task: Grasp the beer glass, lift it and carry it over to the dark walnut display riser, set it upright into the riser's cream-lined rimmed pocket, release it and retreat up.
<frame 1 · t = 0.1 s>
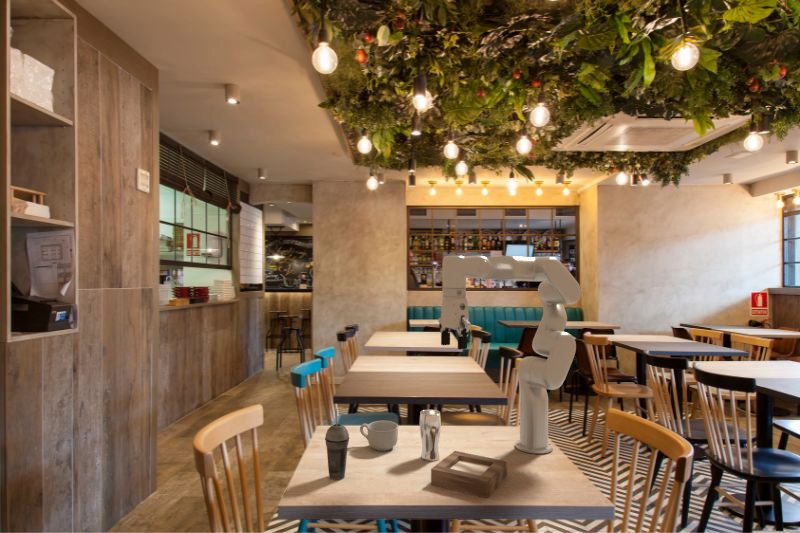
hand: (453, 346, 160), 37 cm above the table, tool pointing down, fingers open, 9 cm apart
beer glass: (430, 458, 164), on the table
display riser: (469, 480, 146), on the table
beverage cup: (336, 477, 148), on the table
teacup: (378, 447, 174), on the table
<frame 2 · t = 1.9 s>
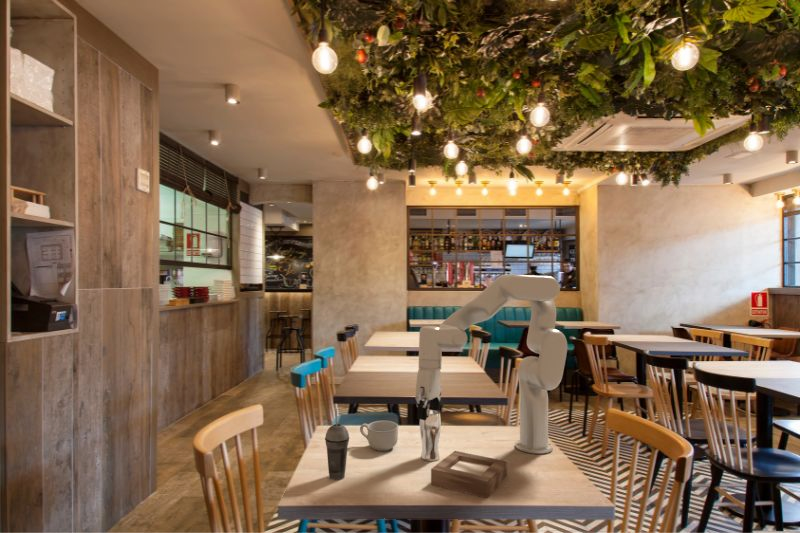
hand: (428, 415, 164), 14 cm above the table, tool pointing down, fingers open, 9 cm apart
nothing on the table moved.
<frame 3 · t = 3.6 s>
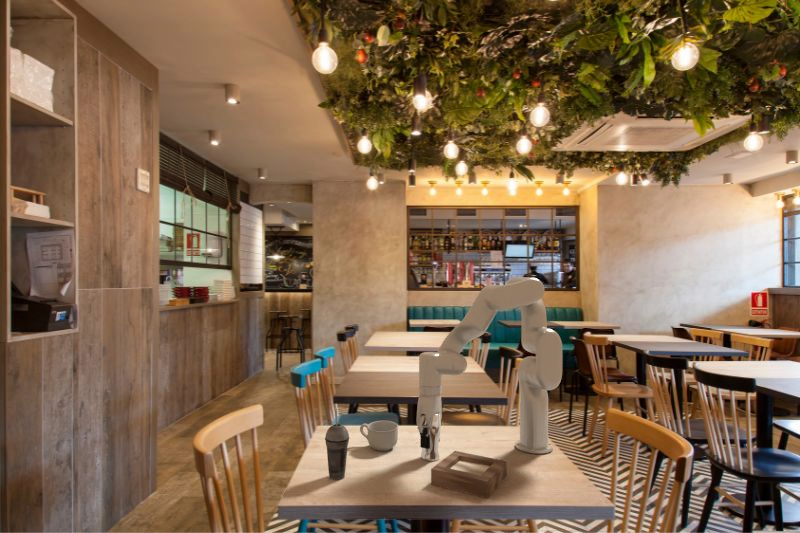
hand: (430, 444, 164), 4 cm above the table, tool pointing down, fingers closed on beer glass, 6 cm apart
beer glass: (430, 458, 164), on the table, touching gripper
everything else where it was.
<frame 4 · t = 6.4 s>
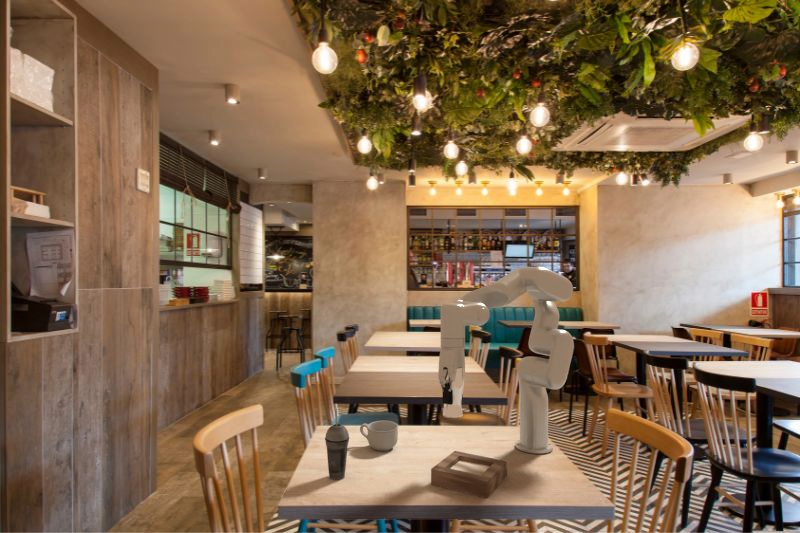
hand: (452, 400, 154), 21 cm above the table, tool pointing down, fingers closed on beer glass, 6 cm apart
beer glass: (452, 415, 154), point 17 cm above the table, touching gripper
everything else where it was.
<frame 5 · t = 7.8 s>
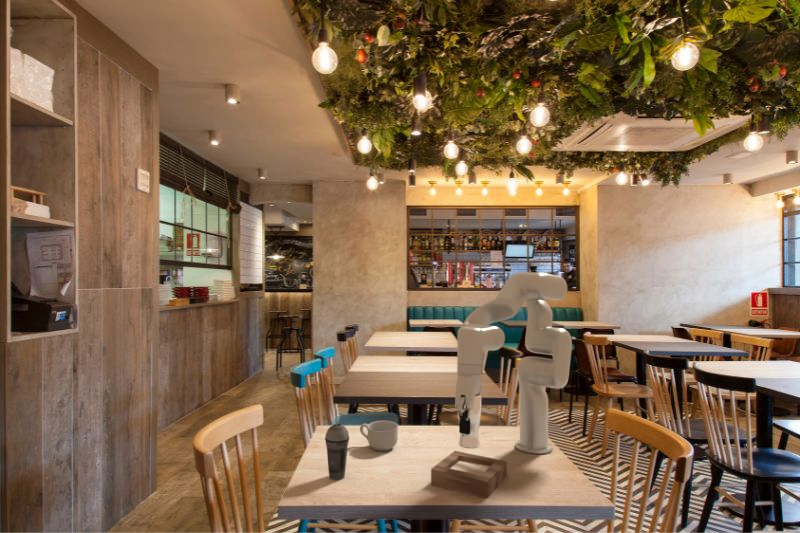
hand: (469, 429, 146), 15 cm above the table, tool pointing down, fingers closed on beer glass, 6 cm apart
beer glass: (469, 445, 146), point 10 cm above the table, touching gripper
everything else where it was.
when the fingers open (9 cm above the table, at t = 9.1 s): beer glass drops 1 cm, resting on display riser.
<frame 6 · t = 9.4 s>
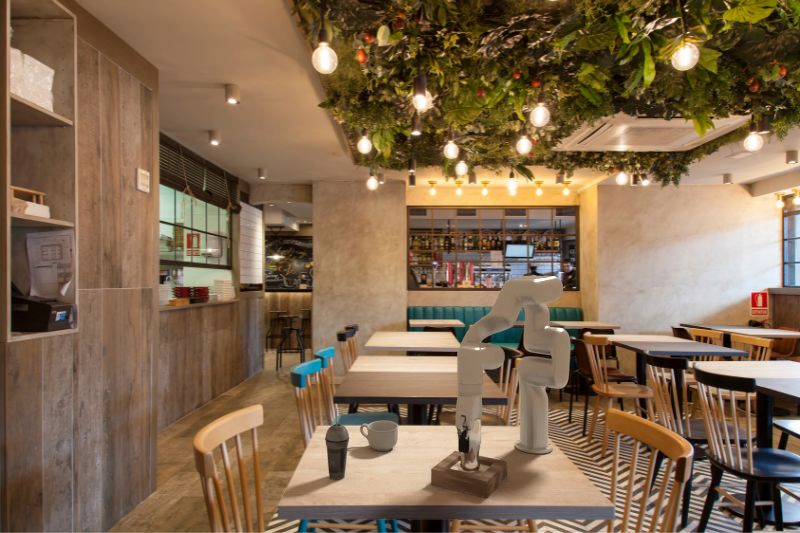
hand: (469, 447, 146), 10 cm above the table, tool pointing down, fingers open, 8 cm apart
beer glass: (470, 469, 146), point 3 cm above the table, touching display riser
everything else where it was.
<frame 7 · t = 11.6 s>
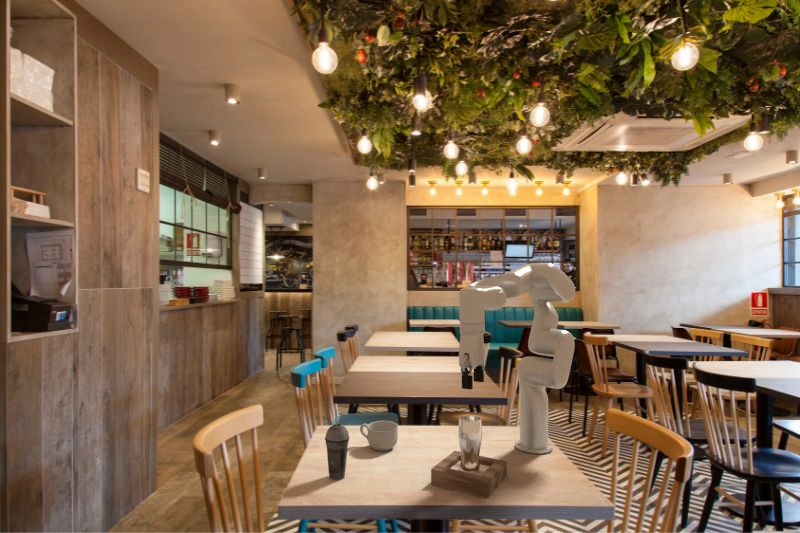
hand: (473, 385, 150), 27 cm above the table, tool pointing down, fingers open, 9 cm apart
nothing on the table moved.
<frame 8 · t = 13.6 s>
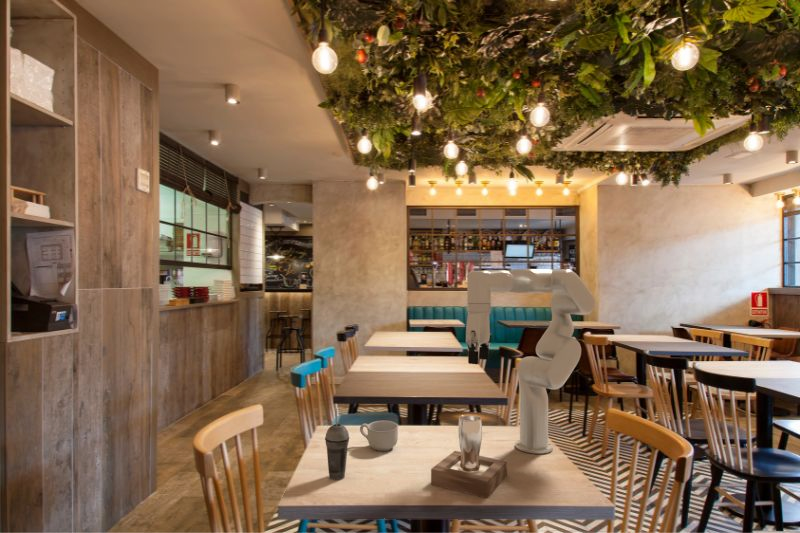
hand: (478, 361, 161), 32 cm above the table, tool pointing down, fingers open, 9 cm apart
nothing on the table moved.
at the end: beer glass 0.1 cm off-centre on the display riser, point 3.0 cm above the display riser's base; beer glass tilted 0°; the gripper is holding nothing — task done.
